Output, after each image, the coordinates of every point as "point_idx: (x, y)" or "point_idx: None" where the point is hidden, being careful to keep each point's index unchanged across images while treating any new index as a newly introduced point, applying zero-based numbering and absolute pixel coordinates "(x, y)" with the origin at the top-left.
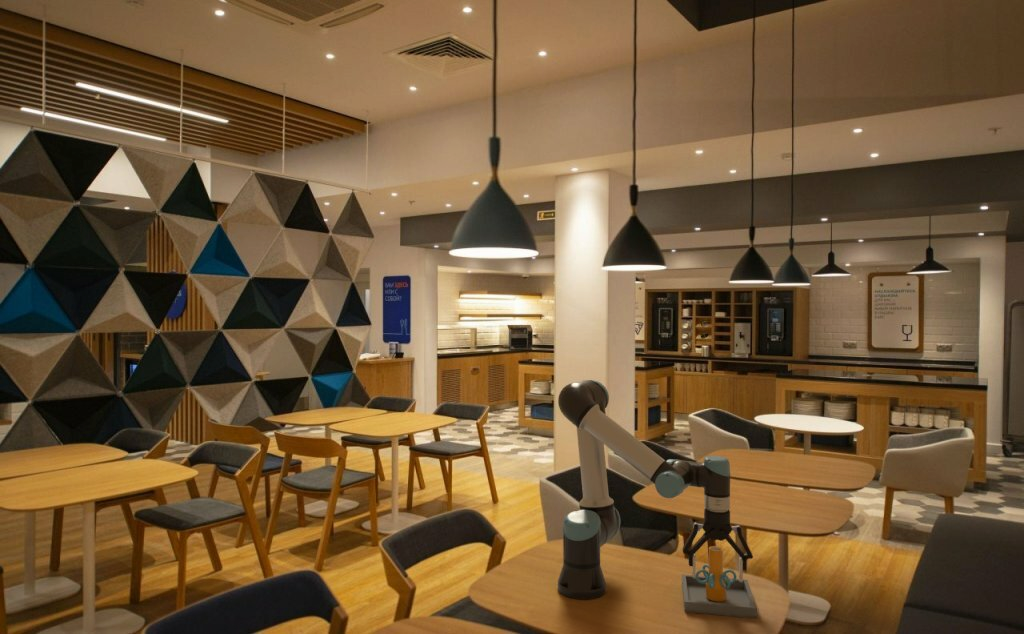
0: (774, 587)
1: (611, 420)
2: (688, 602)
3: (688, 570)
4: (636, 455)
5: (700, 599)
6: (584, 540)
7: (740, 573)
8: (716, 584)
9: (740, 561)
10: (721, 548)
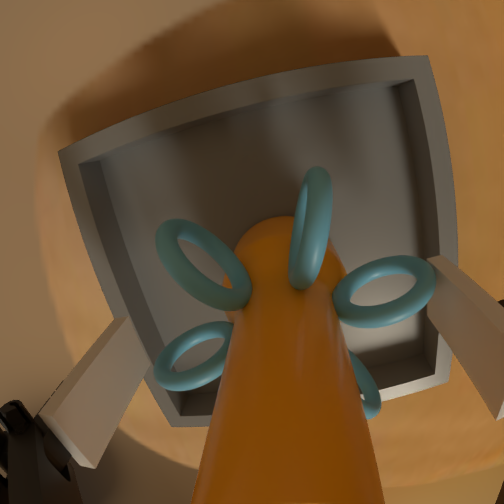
0: None
1: None
2: (408, 57)
3: (395, 449)
4: None
5: (359, 215)
6: None
7: (99, 348)
8: (275, 256)
9: (53, 410)
10: None
